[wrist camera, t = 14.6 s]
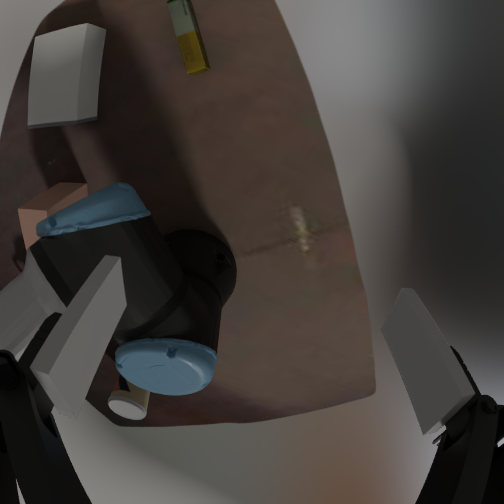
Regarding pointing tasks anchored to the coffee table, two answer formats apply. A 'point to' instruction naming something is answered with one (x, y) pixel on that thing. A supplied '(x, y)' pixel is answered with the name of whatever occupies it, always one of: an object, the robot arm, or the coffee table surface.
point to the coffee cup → (128, 399)
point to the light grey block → (65, 76)
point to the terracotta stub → (48, 207)
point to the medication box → (188, 36)
